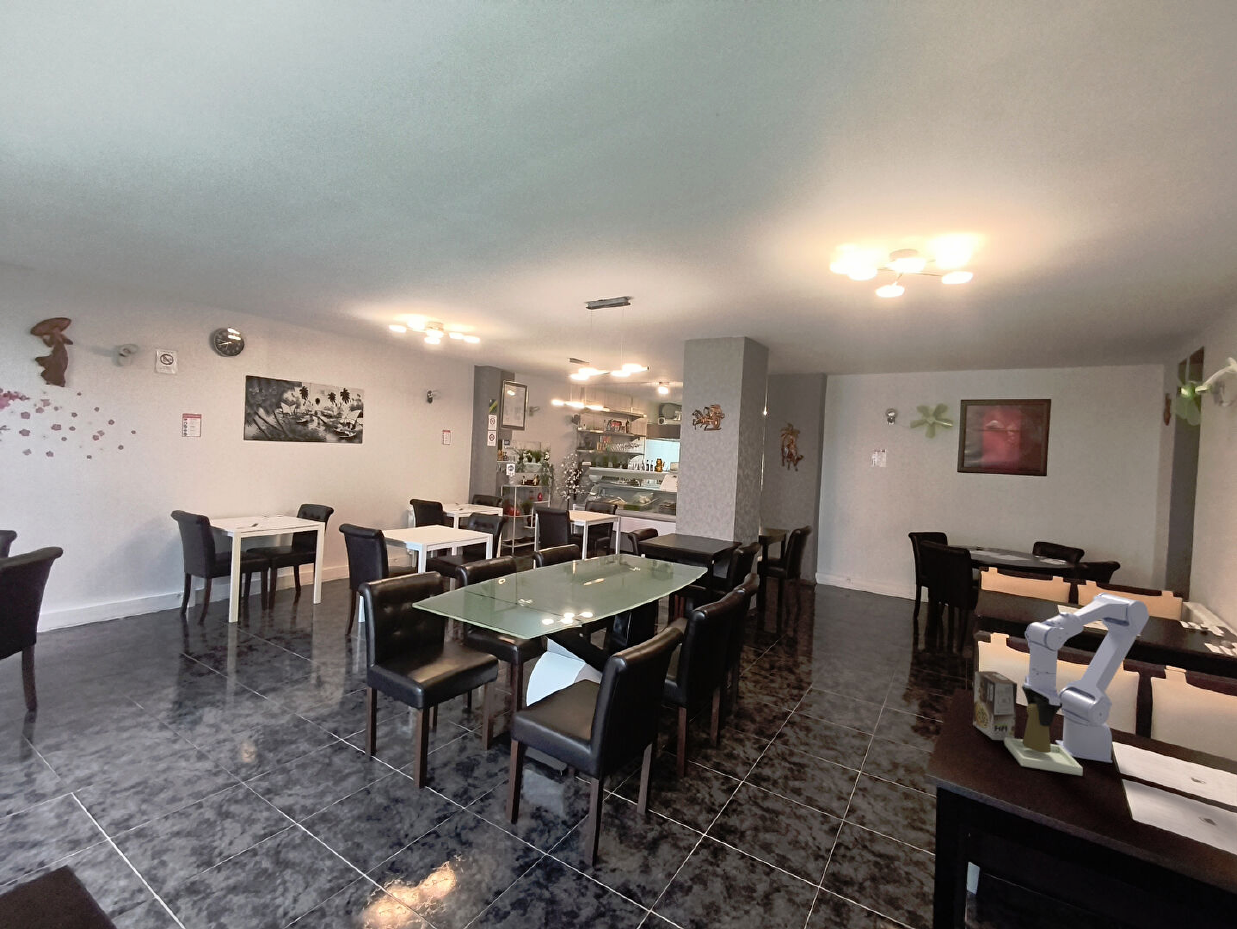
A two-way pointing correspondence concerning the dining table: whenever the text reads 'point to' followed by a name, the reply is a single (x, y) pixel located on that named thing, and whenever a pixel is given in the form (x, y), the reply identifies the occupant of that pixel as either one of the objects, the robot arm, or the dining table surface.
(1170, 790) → the dining table surface
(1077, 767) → the tray
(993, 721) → the coffee box
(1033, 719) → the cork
